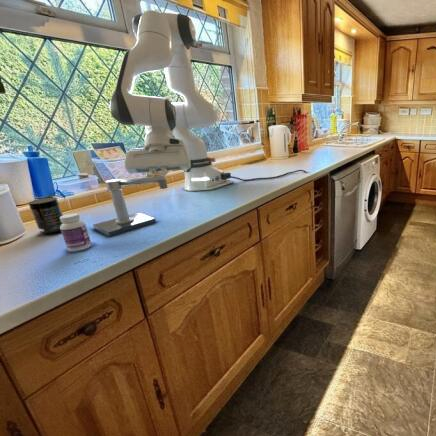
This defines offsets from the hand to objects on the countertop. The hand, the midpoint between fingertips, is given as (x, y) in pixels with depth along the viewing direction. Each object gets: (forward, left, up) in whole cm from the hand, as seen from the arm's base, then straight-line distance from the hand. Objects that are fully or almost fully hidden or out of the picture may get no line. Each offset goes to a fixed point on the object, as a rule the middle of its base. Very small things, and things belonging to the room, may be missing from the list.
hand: (158, 180), depth 101 cm
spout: (+6, -1, -2) cm, 7 cm away
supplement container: (+26, -20, -14) cm, 36 cm away
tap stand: (+11, -5, -14) cm, 18 cm away
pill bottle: (+26, +3, -14) cm, 30 cm away
